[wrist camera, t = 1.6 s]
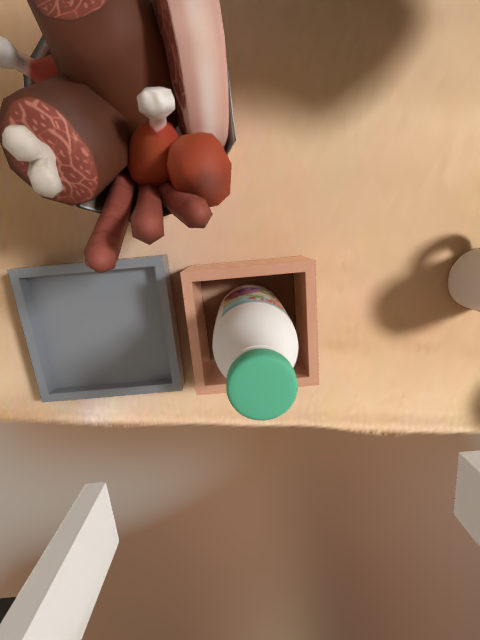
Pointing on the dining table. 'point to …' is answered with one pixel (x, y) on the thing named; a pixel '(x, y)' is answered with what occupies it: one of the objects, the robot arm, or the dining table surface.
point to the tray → (100, 328)
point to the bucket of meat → (123, 114)
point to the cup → (466, 280)
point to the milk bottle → (256, 352)
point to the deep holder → (302, 267)
